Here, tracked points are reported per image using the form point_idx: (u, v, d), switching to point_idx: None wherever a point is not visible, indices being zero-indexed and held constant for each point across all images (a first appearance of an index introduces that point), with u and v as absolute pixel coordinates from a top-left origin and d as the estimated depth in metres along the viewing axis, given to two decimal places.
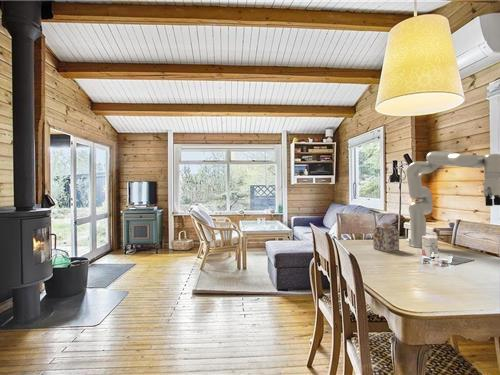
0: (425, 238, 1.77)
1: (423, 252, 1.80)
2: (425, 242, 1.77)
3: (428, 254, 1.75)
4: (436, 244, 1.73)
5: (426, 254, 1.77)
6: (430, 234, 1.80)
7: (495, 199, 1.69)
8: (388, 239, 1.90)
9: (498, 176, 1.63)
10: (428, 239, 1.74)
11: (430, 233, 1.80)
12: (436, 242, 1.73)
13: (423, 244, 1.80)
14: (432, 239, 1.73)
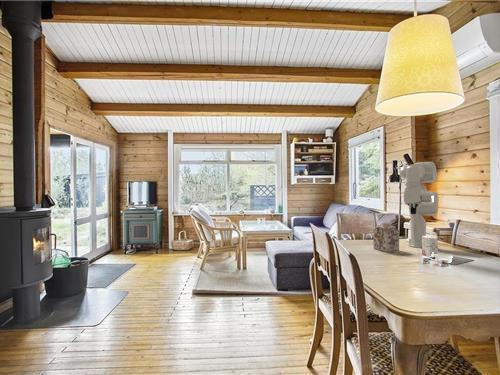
0: (425, 238, 1.77)
1: (423, 252, 1.80)
2: (425, 242, 1.77)
3: (428, 254, 1.75)
4: (436, 244, 1.73)
5: (426, 254, 1.77)
6: (430, 234, 1.80)
7: None
8: (388, 239, 1.90)
9: None
10: (428, 239, 1.74)
11: (430, 233, 1.80)
12: (436, 242, 1.73)
13: (423, 244, 1.80)
14: (432, 239, 1.73)
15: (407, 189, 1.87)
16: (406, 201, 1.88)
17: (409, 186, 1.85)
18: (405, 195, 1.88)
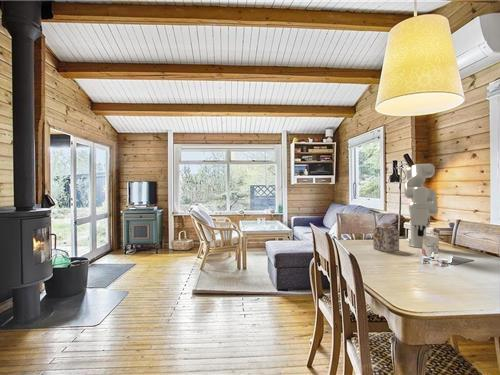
0: (426, 238, 1.76)
1: (423, 251, 1.80)
2: (426, 242, 1.76)
3: (428, 254, 1.75)
4: (437, 244, 1.73)
5: (426, 253, 1.77)
6: (431, 234, 1.79)
7: None
8: (388, 239, 1.90)
9: None
10: (429, 239, 1.73)
11: (431, 233, 1.79)
12: (437, 242, 1.72)
13: (424, 243, 1.79)
14: (434, 239, 1.72)
15: (414, 211, 1.83)
16: (413, 223, 1.83)
17: (416, 208, 1.80)
18: (412, 217, 1.84)
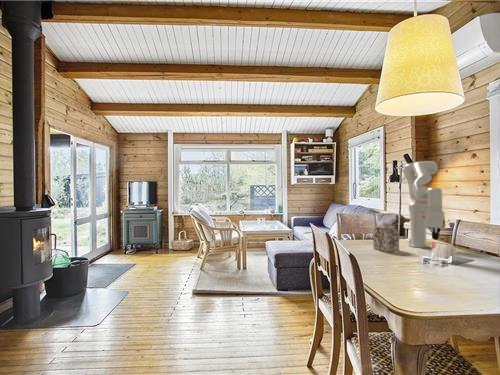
0: (443, 252, 1.63)
1: (433, 244, 1.72)
2: (440, 252, 1.65)
3: None
4: None
5: (432, 249, 1.72)
6: (454, 249, 1.61)
7: None
8: (388, 239, 1.90)
9: None
10: None
11: (455, 250, 1.60)
12: None
13: (439, 247, 1.67)
14: None
15: (428, 212, 1.75)
16: (427, 225, 1.76)
17: (431, 209, 1.73)
18: (426, 219, 1.76)
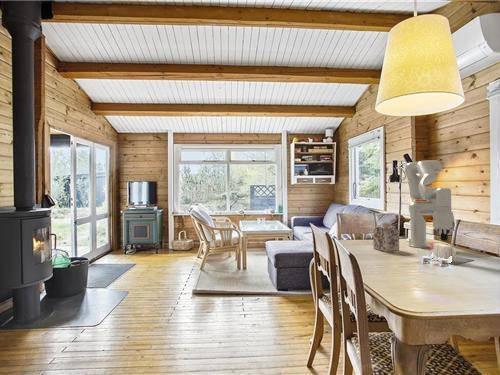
0: (442, 253, 1.63)
1: (431, 245, 1.72)
2: (439, 253, 1.65)
3: None
4: None
5: (431, 250, 1.72)
6: (452, 249, 1.61)
7: None
8: (388, 239, 1.90)
9: None
10: None
11: (453, 250, 1.60)
12: None
13: (437, 248, 1.67)
14: None
15: (437, 213, 1.71)
16: (436, 226, 1.71)
17: (440, 210, 1.68)
18: (435, 220, 1.72)
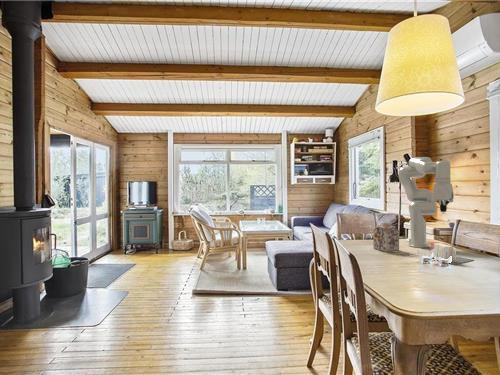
0: (442, 253, 1.63)
1: (432, 245, 1.72)
2: (439, 253, 1.65)
3: None
4: None
5: (431, 250, 1.72)
6: (453, 249, 1.61)
7: None
8: (388, 239, 1.90)
9: None
10: None
11: (454, 250, 1.60)
12: None
13: (437, 247, 1.67)
14: None
15: (437, 185, 1.76)
16: (435, 198, 1.77)
17: (439, 182, 1.74)
18: (434, 192, 1.78)
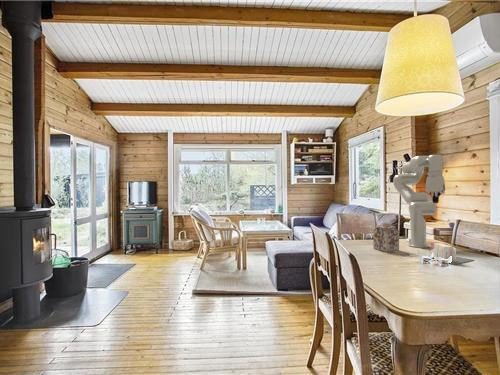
0: (442, 253, 1.63)
1: (432, 245, 1.72)
2: (439, 253, 1.65)
3: None
4: None
5: (431, 250, 1.72)
6: (453, 249, 1.61)
7: None
8: (388, 239, 1.90)
9: None
10: None
11: (454, 250, 1.60)
12: None
13: (437, 247, 1.67)
14: None
15: (429, 178, 1.86)
16: (428, 190, 1.87)
17: (432, 175, 1.84)
18: (427, 184, 1.87)
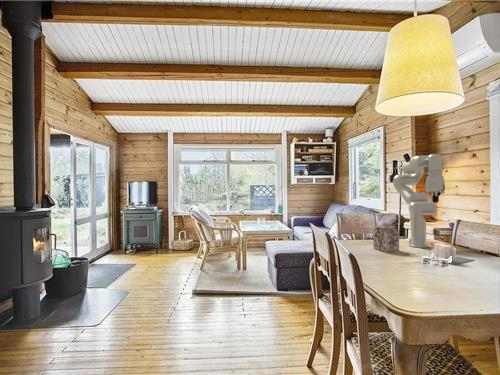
0: (442, 253, 1.63)
1: (432, 245, 1.72)
2: (439, 253, 1.65)
3: None
4: None
5: (431, 250, 1.72)
6: (453, 249, 1.61)
7: None
8: (388, 239, 1.90)
9: None
10: None
11: (454, 250, 1.60)
12: None
13: (437, 247, 1.67)
14: None
15: (429, 178, 1.86)
16: (428, 190, 1.87)
17: (431, 174, 1.84)
18: (427, 184, 1.88)
